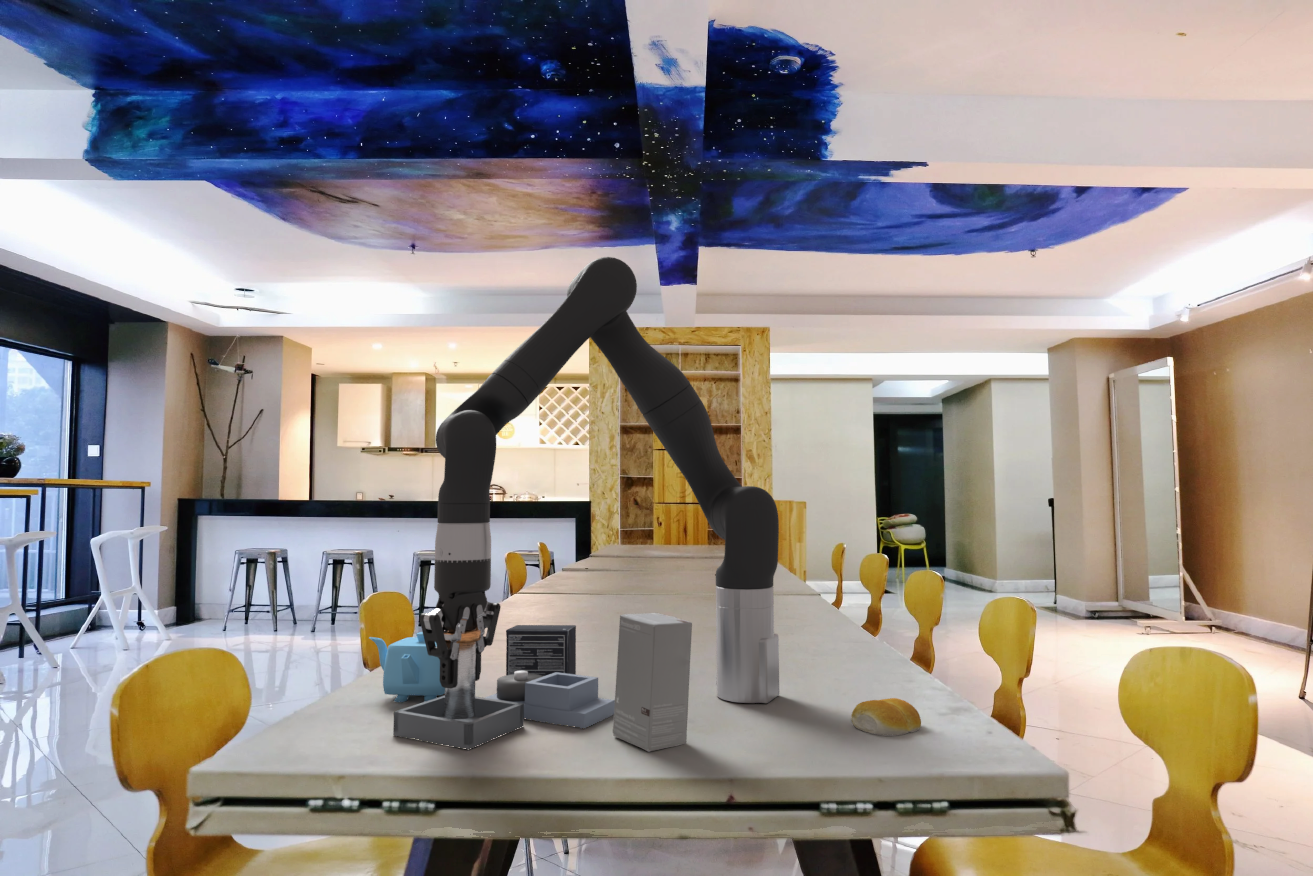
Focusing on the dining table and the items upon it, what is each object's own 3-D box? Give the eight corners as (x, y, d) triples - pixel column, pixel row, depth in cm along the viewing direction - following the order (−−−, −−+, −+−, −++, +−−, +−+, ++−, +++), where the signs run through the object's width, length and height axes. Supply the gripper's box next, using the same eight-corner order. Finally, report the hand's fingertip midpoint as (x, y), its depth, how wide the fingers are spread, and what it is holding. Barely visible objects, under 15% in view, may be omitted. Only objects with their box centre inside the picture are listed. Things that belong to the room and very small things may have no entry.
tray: (523, 727, 102) (523, 703, 102) (468, 750, 92) (469, 724, 93) (451, 714, 108) (452, 693, 108) (393, 735, 98) (393, 711, 99)
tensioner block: (614, 714, 108) (614, 676, 108) (584, 729, 101) (584, 688, 101) (516, 699, 116) (516, 664, 117) (481, 712, 109) (482, 674, 110)
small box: (577, 687, 124) (577, 623, 125) (569, 697, 118) (569, 630, 119) (515, 686, 125) (516, 623, 126) (504, 696, 119) (505, 629, 120)
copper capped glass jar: (487, 712, 101) (488, 629, 102) (460, 722, 97) (462, 635, 98) (458, 708, 104) (460, 626, 105) (431, 717, 99) (433, 632, 100)
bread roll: (932, 730, 101) (931, 700, 101) (888, 741, 96) (887, 710, 96) (883, 715, 108) (882, 687, 108) (840, 725, 103) (839, 696, 103)
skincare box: (611, 737, 97) (612, 614, 99) (655, 727, 102) (655, 610, 103) (649, 754, 91) (649, 622, 92) (694, 743, 95) (693, 617, 96)
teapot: (488, 688, 124) (489, 626, 125) (458, 711, 110) (460, 642, 111) (384, 686, 125) (386, 625, 126) (342, 708, 112) (344, 640, 112)
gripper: (446, 560, 94) (444, 699, 93) (517, 553, 107) (515, 676, 105) (403, 558, 98) (400, 692, 96) (477, 552, 110) (474, 670, 109)
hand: (460, 683), depth 101 cm, fingers closed on copper capped glass jar, 4 cm apart
